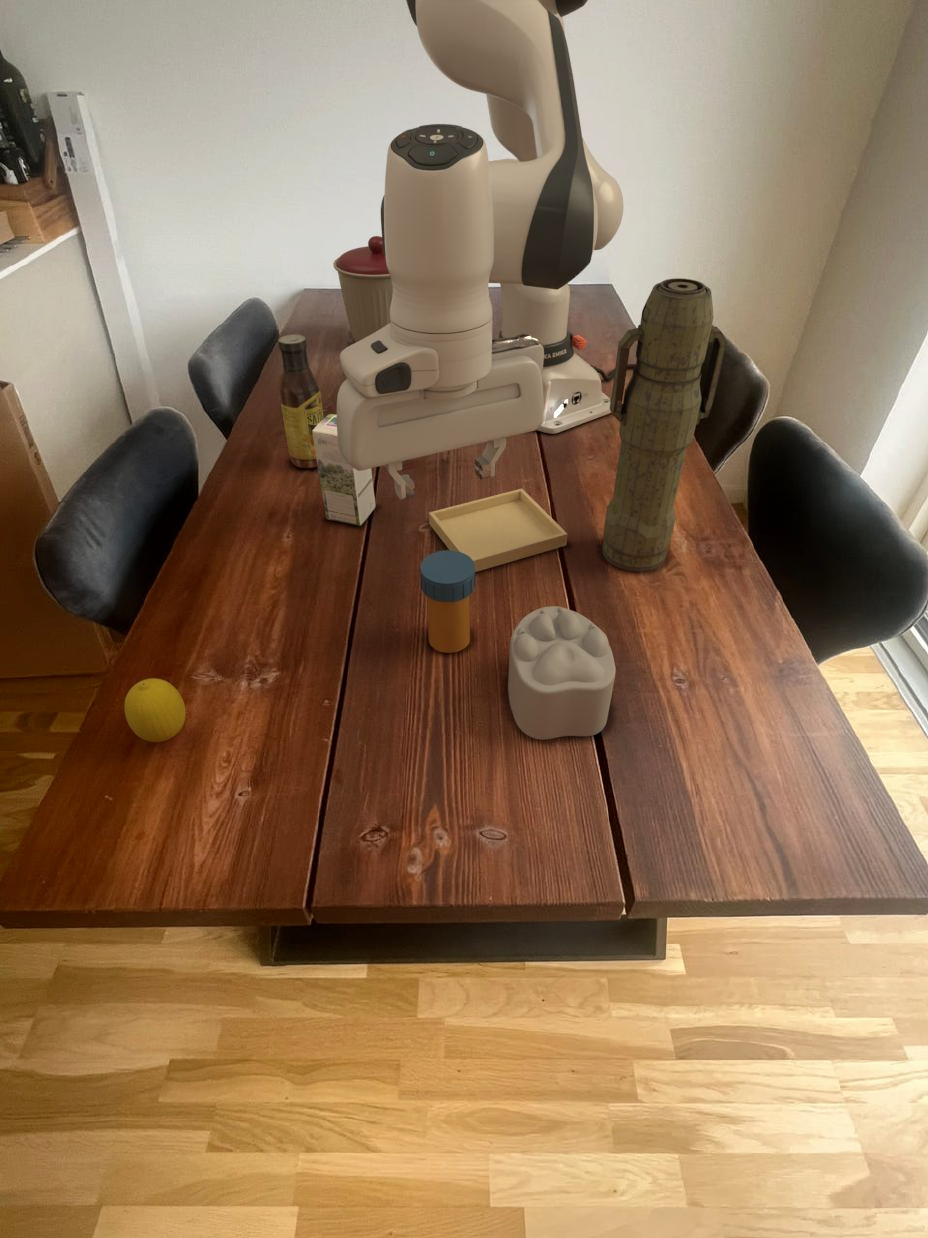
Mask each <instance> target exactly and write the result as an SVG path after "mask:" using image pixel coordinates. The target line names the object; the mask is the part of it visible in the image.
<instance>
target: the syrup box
mask: <svg viewBox="0 0 928 1238" xmlns="http://www.w3.org/2000/svg"><path fill="white" fill-rule="evenodd" d="M312 431H313V432H312V433H313V440H314V446H315V452H316V458H317V464H318V467H317V471H318V477H319V482H320V488H321V494H322V495H321V496H322V501H323V506H324V507H323V508H324V512H325V513H324V515H325V518H326V520H327V521H331V522H332V521H333V522H338V523H343V524H348V525H352V526H358V527H360V526H362V525H363V524H364V523H365V521H366V520H367V519H368V518H369V516H370V515H371V514H372V512H373V511H374V510H375V509H376V507H377V506H376V497H375V490H374V482H373V474H372V473H373V471H372V468H370V469H366V470H362V471H358V470H356V469H355V468H353V467H352V466H351V465H350V464H348V463H347V461H346V460H345V459H344V457H343V456H342V454H341V452H340V449H339V445H338V436H337V413H336V414H335V413H329V414H327V415H326V416H325V417H324V419H323V420H322V421H321V422H320V423H319V424H318V425H317V426H316V427H315V428H314V429H313V430H312Z"/></svg>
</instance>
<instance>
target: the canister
mask: <svg viewBox="0 0 928 1238" xmlns="http://www.w3.org/2000/svg"><path fill="white" fill-rule="evenodd" d="M367 245H368V246H361V247H357V248H352V249H349V250H347V251H346V252H343V253H342V254H341V255H340V256H339V257H337V258H336V259H335V260H334V261H333V263H332V264H333V268H334V270H335V271H336V272H337V275H338V280H339V286H340V289H341V294H342V299H343V303H344V308H345V313H346V317H347V321H348V326H349V330H350V333H351V337H352V338H353V340H354V343H356V342H358V341H360V340H362V339H364V338H366V337H368V336H369V335H371V334H373V333H375V332H376V331H378V330H380V329H382V328H383V327H385V326H386V325H388V324H389V323H390V307H391V302H392V296H393V286H392V280H391V277H390V274H389V271H388V268H387V264H386V259H385V257H384V254H383V243H382V236H380V235H374V236H371V237H370V238H369V239H368V241H367Z"/></svg>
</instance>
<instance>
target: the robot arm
mask: <svg viewBox="0 0 928 1238" xmlns="http://www.w3.org/2000/svg"><path fill="white" fill-rule="evenodd" d="M588 1H589V0H405V3H406V5H407V8H408V11H409V14H410V17H411V19H412V21H413V23H414V25H415V26H416V29H417V34H418V37H419V40H420V42H421V45H422V48H423V49H424V51H425V53H426V55H427V56H428V58H429V59H430V61H431V62H432V63H433V65H434V66H435V67H436V68H437V69H438V71H439V72H440V73H441V74H443V75H444V76H445V78H447V79H449V80H450V81H451V82H452V83H454V84H456V85H458V86H459V87H462V88H464V89H467V90H469V91H471V92H476V93H480V94H484V95H485V96H486V102H487V110H488V115H489V122H490V127H491V129H492V133H493V135H494V137H495V138H496V140H497V141H498V142H499V144H500V145H501V146H502V147H503V148H504V149H505V150H507V151H508V152H509V153H510V154H512V155H513V156H514V157H515V158H502V159H495V160H489V154H488V149H487V144H486V141H485V139H484V138H483V137H482V135H480V134H479V133H477V131H474V130H473V129H470V128H467V127H463V126H462V125H458V124H450V123H432V124H423V125H420V126H418V127H414V128H410V129H406V130H404V131H403V132H401V133H400V134H398V135H397V136H395V137H394V138H393V139H392V140H391V142H390V143H389V145H388V148H387V153H386V162H385V163H386V164H385V175H384V194H383V196H382V199H381V203H380V229H381V237H382V243H383V254H384V257H385V259H386V264H387V268H388V271H389V274H390V277H391V280H392V286H393V296H392V302H391V307H390V323H389V324H388V325H386V326H385V327H383V328H382V329H380V330H378V331H376V332H375V333H373V334H371V335H369V336H368V337H366V338H364V339H362V340H360V341H358V342H354V343H352V344H350V345H348V346H347V347H345V348H344V349H343V350H341V352H340V355H339V360H340V361H339V362H340V367H341V370H342V372H343V374H344V375H345V377H346V379H345V380H344V381H343V382H342V383H341V385H340V387H339V389H338V392H337V397H336V415H337V436H338V445H339V449H340V452H341V454H342V456H343V457H344V459H345V460H346V461H347V463H348V464H350V465H351V466H352V467H353V468H355V469H356V470H358V471H362V470H366V469H370V468H371V469H375V468H379V467H384V469H385V470H386V471H387V472H388V474H389V475H390V476H391V478H392V479H393V484H394V492H395V494H396V496H397V497H398V498H399V500H405V499H409V498H413V497H415V496H416V492H415V488H416V487H415V481H414V480H413V478H411V476H410V475H409V474H408V473H405V474H401V475H400V473H399V472H400V471H402V470H403V469H404V468H403V462H405V461H409V460H414V459H418V458H423V457H426V456H431V455H435V454H439V453H444V452H448V451H453V450H457V449H462V448H465V447H470V446H474V445H480V444H483V443H487V444H486V446H485V447H484V450H483V452H482V453H481V456H477V457H474V465H475V467H474V473H475V475H476V476H477V477H479V479H480V480H485V479H489V478H494V477H495V475H496V463H497V462H498V460H499V459H500V457H501V455H502V453H503V452H504V450H505V449H506V447H507V438H509V437H513V436H519V435H522V434H526V433H531V432H535V431H538V432H541V433H545V434H549V435H550V434H551V435H552V434H553V435H554V434H558V433H562V432H563V431H566V430H569V429H572V428H574V427H577V426H580V425H583V424H585V423H588V422H590V421H593V420H595V419H596V420H597V419H598V418H601V417H604V416H606V415H609V414H612V413H611V411H610V403H611V398H609V396H607V394H605V393H604V392H603V389H602V388H603V387H602V380H601V377H602V378H603V380H604V381H610V380H611V379H613V378H614V374H615V368H613V370H612V371H611V372H610V374H608V375H607V374H606V372H605V371H604V370H603V369H601V368H598V367H597V366H595V365H591V364H589V363H588V362H587V361H585V360H584V359H583V358H582V357H581V356H579V355H578V354H577V353H575V351H574V348H576V349H577V350H578V351H583V350H584V349H585V348H586V347H587V345H588V344H587V339H586V338H584V337H582V336H581V335H579V334H576V335H574V333H573V332H571V331H569V330H568V321H569V311H570V299H571V291H570V290H571V289H570V286H569V283H570V282H571V281H573V280H574V279H575V278H576V277H577V276H578V275H580V274H581V273H582V272H583V271H584V270H585V269H586V268H587V267H588V266H589V265H590V264H591V261H592V257H593V254H594V251H599V250H602V249H604V248H605V247H607V245H608V244H610V242H612V240H613V238H614V237H615V236H616V234H617V232H618V231H619V228H620V226H621V223H622V220H623V216H624V197H623V193H622V190H621V187H620V185H619V183H618V181H617V180H616V178H615V177H614V176H612V175H611V174H610V173H608V172H607V171H606V170H605V169H604V168H603V167H602V166H601V165H600V163H599V162H598V161H597V160H596V159H595V157H594V155H593V154H592V152H591V151H590V149H589V147H588V146H587V145H588V144H586V142H585V140H584V138H583V133H582V127H581V120H580V119H581V118H580V114H579V107H578V99H577V93H576V92H577V91H576V86H575V79H574V74H573V68H572V62H571V57H570V52H569V47H568V43H567V38H566V32H565V26H564V25H565V23H564V19H563V17H565V16H567V15H570V14H572V13H574V12H576V11H577V10H579V9H581V8H583V7H584V6H585V5H586V4H587V2H588ZM489 284H499V285H500V300H501V325H500V326H501V328H500V330H499V332H498V337H497V338H493V316H494V315H493V305H492V302H491V298H490V291H489ZM635 364H636V363H628V365H627V369H633V368H634V366H635ZM599 374H600V375H601V377H600V375H599Z"/></svg>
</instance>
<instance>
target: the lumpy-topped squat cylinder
mask: <svg viewBox="0 0 928 1238" xmlns="http://www.w3.org/2000/svg"><path fill="white" fill-rule="evenodd" d="M508 658H509V659H508V660H509V662H508V679H507V692H508V693H507V694H508V700H509V706H510V709H511V712H512V715H513V719H514V721H515V723H516V726H517V727H518V728H519V730H520V731H522V732H523V733H524V734H525V735H527V737H530V738H532V739H535V740H542V741H543V740H551V739H556V738H562V737H572V736H573V737H591V736H595V735H597V734H600V733H601V732H602V731H603V730H604V728H605V726H606V725H607V721H608V717H609V712H610V706H611V700H612V695H613V690H614V686H615V685H614V684H615V678H616V674H617V673H616V671H617V669H616V663H615V659H614V654H613V651H612V648H611V646H610V644H609V639H608V636H607V635H606V634H605V632H604V631H603V630H602V629H601V628H599V627H598V626H597V625H596V624H595V623H594V622H593V621H591V620H590V619H588V617H585V616H584V615H582V614H581V613H579V612H576V611H574V610H572V609H569V608H566V607H563V606H558V605H557V606H556V605H550V606H549V605H548V606H543V607H540V608H536V609H535V610H533V611H531V612H530V613H528V614H526V615H525V616H524V617H523V618H522V619H521V620H520V621H519V622H518V624H517V625H516V627H515V629H514V630H513V632H512V634H511V637H510V641H509V657H508Z"/></svg>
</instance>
